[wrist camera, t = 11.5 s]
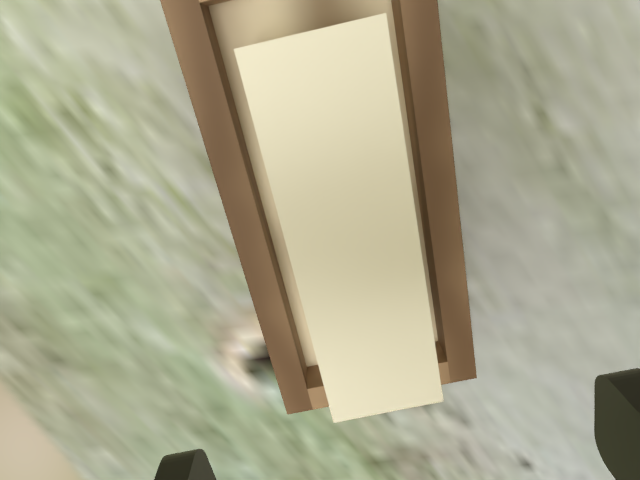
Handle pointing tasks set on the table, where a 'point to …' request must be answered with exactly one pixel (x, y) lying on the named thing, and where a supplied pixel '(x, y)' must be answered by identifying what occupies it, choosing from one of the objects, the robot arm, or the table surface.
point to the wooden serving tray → (254, 188)
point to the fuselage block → (347, 210)
